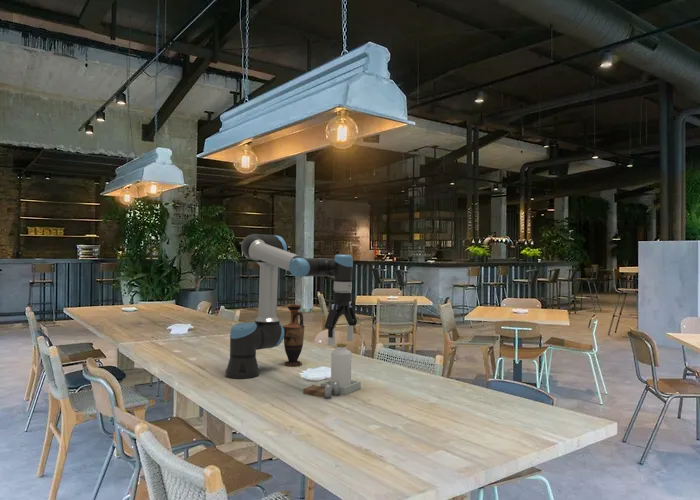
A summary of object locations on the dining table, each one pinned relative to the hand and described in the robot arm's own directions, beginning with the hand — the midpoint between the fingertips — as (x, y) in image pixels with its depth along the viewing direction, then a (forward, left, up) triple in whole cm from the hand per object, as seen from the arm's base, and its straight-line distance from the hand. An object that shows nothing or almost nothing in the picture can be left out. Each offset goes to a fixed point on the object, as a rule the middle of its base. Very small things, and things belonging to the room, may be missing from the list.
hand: (340, 343), depth 207 cm
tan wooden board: (-3, -10, -20) cm, 22 cm away
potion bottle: (0, 0, -19) cm, 19 cm away
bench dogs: (+3, -11, -19) cm, 22 cm away
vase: (-46, +24, -19) cm, 55 cm away
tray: (0, 0, -19) cm, 19 cm away
